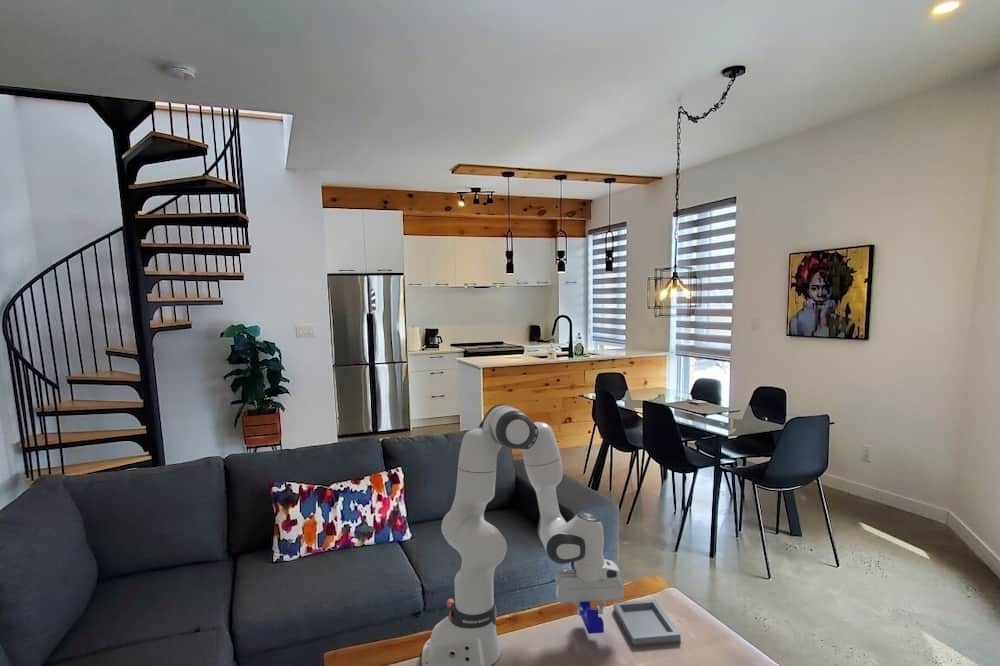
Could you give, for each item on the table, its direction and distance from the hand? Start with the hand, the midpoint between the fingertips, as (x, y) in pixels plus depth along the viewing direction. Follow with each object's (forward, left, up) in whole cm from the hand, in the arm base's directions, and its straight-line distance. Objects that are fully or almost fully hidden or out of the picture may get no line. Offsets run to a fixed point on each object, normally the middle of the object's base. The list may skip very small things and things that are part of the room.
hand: (590, 613), depth 147 cm
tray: (+17, +1, -6) cm, 18 cm away
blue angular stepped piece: (0, 0, -2) cm, 2 cm away
